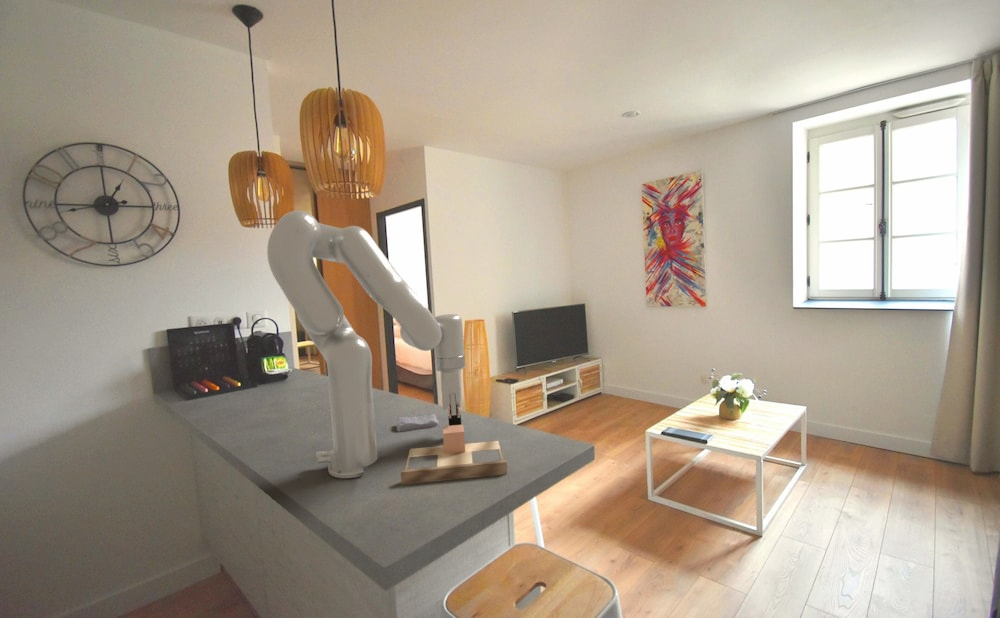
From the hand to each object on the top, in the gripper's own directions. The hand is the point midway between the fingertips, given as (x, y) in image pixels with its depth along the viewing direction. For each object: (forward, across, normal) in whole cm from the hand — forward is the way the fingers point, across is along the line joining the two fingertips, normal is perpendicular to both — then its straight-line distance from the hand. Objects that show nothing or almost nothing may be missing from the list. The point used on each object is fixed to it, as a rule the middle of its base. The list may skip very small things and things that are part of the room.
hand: (455, 431), depth 113 cm
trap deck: (+3, +14, 0) cm, 15 cm away
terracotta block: (+2, +8, 0) cm, 8 cm away
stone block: (+4, -13, -11) cm, 18 cm away
